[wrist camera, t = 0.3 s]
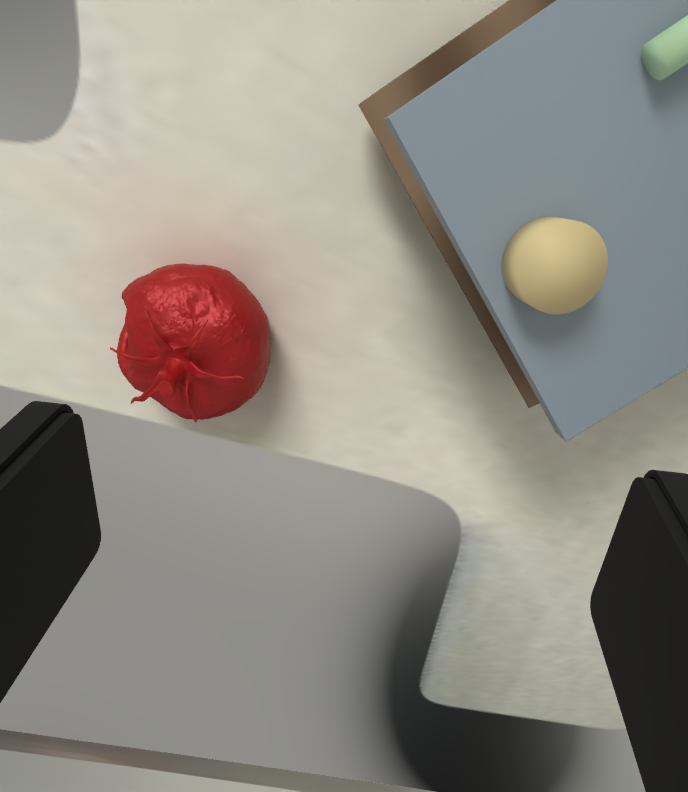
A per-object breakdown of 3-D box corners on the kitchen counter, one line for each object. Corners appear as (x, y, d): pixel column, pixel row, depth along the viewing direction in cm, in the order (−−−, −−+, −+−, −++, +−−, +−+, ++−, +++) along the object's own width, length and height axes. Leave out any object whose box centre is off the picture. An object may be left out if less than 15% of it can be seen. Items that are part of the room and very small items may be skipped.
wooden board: (743, -163, 28) (789, -193, 24) (851, 223, 35) (897, 241, 32) (364, 100, 34) (358, 105, 31) (519, 379, 42) (528, 407, 38)
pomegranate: (251, 231, 39) (211, 274, 31) (300, 371, 43) (276, 441, 35) (112, 270, 41) (39, 320, 33) (172, 400, 45) (121, 473, 37)
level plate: (785, -158, 25) (856, -202, 22) (885, 231, 31) (950, 238, 28) (383, 119, 27) (398, 113, 24) (556, 432, 33) (584, 459, 30)
